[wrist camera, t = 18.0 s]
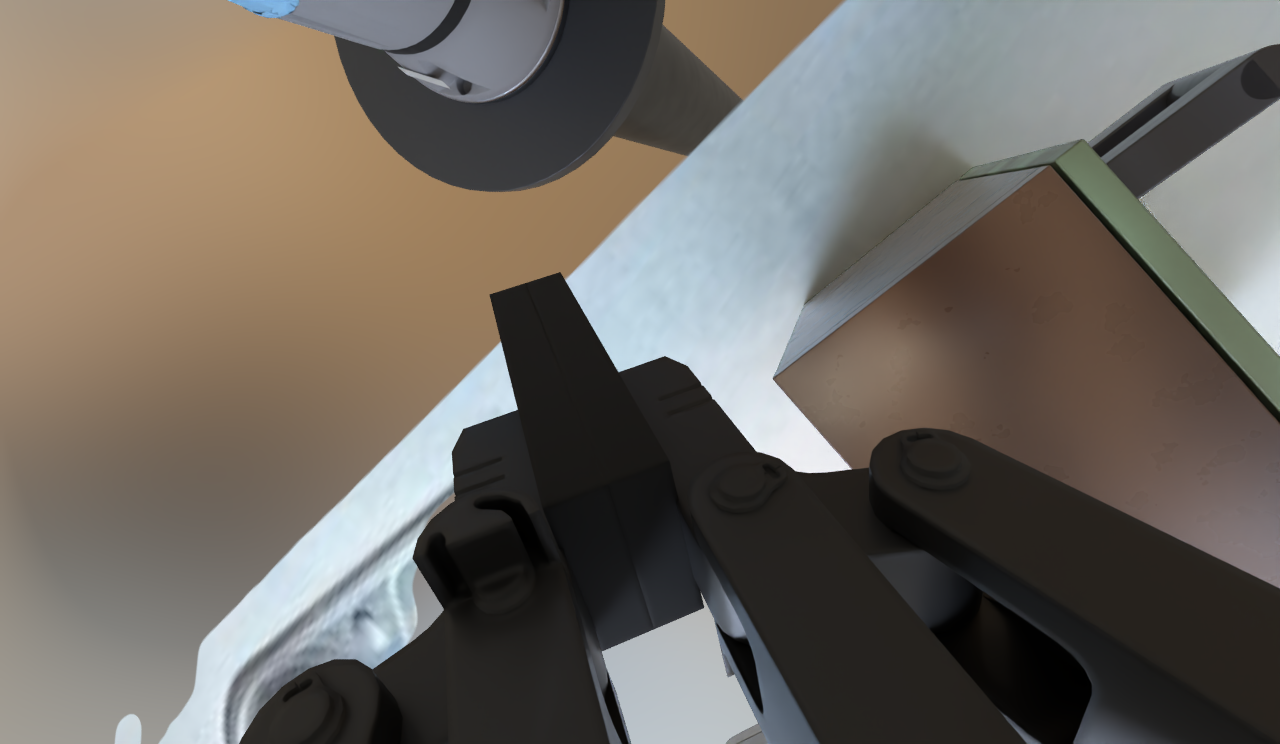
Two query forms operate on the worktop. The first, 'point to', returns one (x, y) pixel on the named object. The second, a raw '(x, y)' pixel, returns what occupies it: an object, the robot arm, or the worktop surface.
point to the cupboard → (1042, 364)
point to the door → (1143, 159)
